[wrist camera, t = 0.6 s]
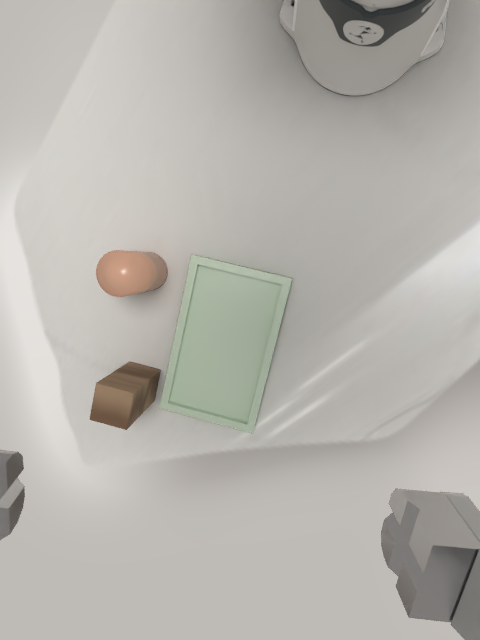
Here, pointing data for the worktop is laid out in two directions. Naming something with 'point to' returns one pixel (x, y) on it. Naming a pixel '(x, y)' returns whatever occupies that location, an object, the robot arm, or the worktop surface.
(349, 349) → the worktop surface
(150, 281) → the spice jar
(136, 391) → the walnut block
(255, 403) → the tray
